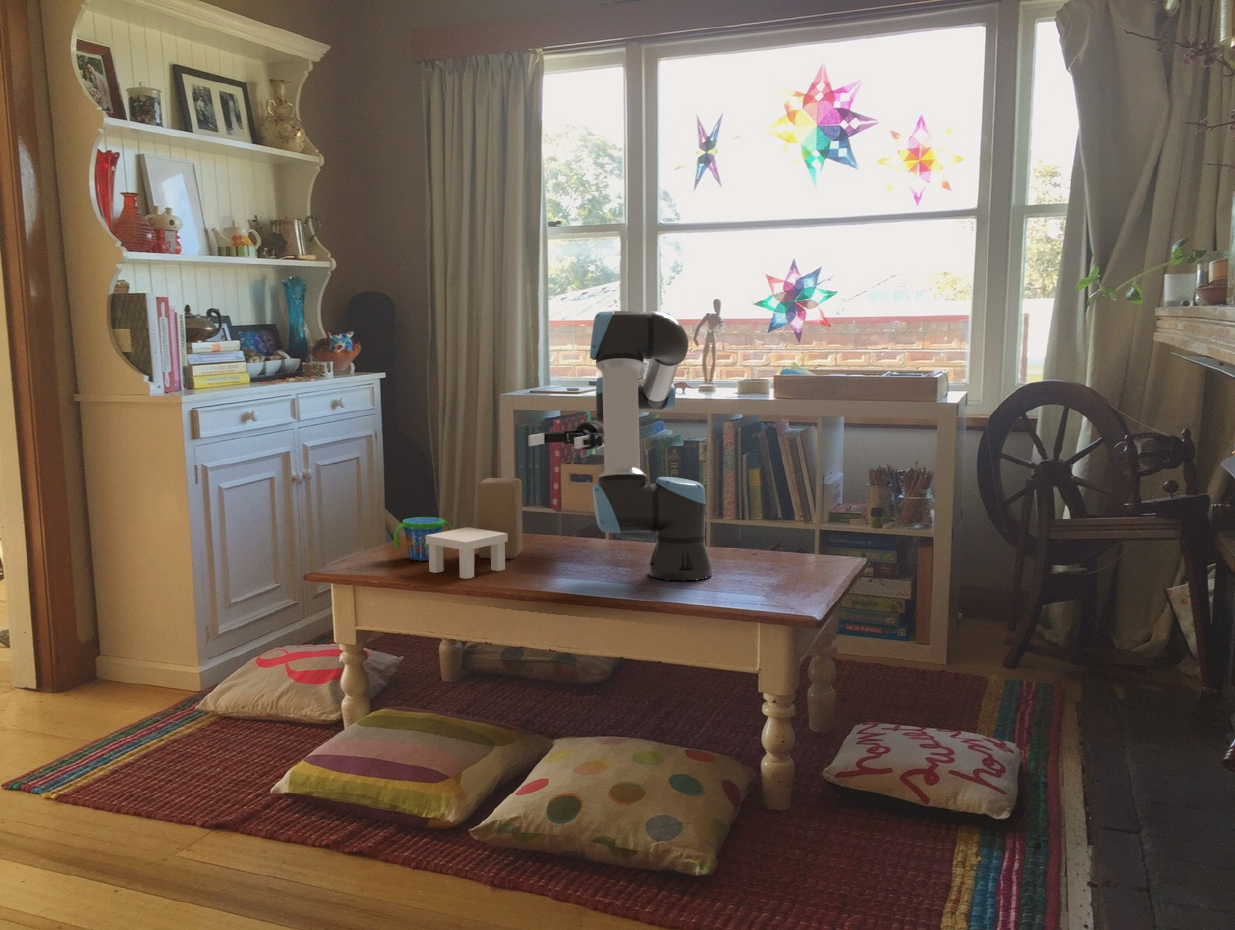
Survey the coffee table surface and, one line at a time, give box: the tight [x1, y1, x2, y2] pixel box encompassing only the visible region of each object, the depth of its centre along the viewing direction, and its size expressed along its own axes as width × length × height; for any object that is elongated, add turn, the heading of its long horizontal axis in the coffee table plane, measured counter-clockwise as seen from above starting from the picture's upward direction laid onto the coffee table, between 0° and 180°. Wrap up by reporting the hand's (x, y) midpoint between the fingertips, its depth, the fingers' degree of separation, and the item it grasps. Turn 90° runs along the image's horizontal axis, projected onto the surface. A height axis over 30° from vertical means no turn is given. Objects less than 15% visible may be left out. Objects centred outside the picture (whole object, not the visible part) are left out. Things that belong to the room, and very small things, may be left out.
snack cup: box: [392, 516, 453, 562], centre depth 264 cm, size 16×10×10 cm
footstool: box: [426, 526, 508, 580], centre depth 251 cm, size 14×14×9 cm
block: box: [476, 477, 523, 560], centre depth 268 cm, size 10×10×20 cm
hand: (552, 442), depth 261 cm, fingers open, 13 cm apart
